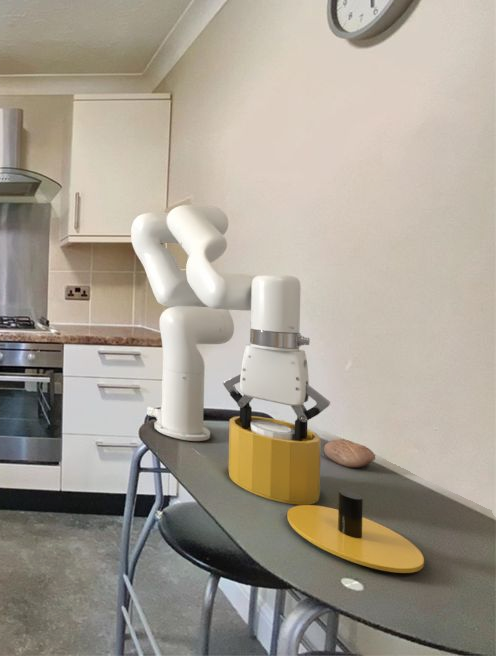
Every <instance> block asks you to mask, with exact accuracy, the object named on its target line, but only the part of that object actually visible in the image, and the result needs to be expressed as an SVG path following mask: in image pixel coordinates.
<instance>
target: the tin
mask: <svg viewBox="0 0 496 656" xmlns="http://www.w3.org/2000/svg"><path fill="white" fill-rule="evenodd" d="M254 420H262V421H269V422H274V423H278V424H282V425H284V426H287V427H289V428H291V429H293V430H294V431H295V423H293V422H288V421H285V420H280V419H276V418H271V417H270V418H269V417H263V416H255V415H251V421H254ZM228 428H229V429H228V430H229V432H228V468H227V469H228V476H229V478H230V479H231V481H232V482H233V483H235V484H236V485H237V486H239V487H240V488H242V489H244V490H245V491H248V492H249V493H252V494H254V495H256V496H259V497H262V498H264V499H267V500H271V501H274V502H279V503H283V504H288V505H289V504H290V505H296V506H300V505H314V504H316V503H318V502H319V500H320V496H321V456H322V455H321V452H322V451H321V450H322V449H321V448H322V447H321V446H322V438H321V437H320V436H319V435H318V433H317V432H314V431H313V430H311V429H308V428H307V438H306V439H303V441H290V440H283V439H277V438H271V437H268V436H264V435H260V434H256V433H253V432H251V427H249V428H248V429H243V428H242V423H241V422H240V415H238V416H237V415H236V416H232V417H231V418H230V419H229V426H228Z"/></svg>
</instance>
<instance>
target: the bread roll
mask: <svg viewBox="0 0 496 656" xmlns="http://www.w3.org/2000/svg"><path fill="white" fill-rule="evenodd" d="M323 448H324V449H323V451H324V454H325V456H326V457H327V458H329V459H330V460H331V461H333V462H335V463H337V464H338V465H340V466H343V467H346V468H352V469H353V468H362V467H364V466H365V467H366V466H367V465H369V464H371V463H373V462H374V461H375V460H376V454H375V453H374V451H372V450H371V449H370V448H369V447H367V446H366V445H363V444H360V443H356V442H353V441H352V440H348V439H342V438H341V439H332V440H329V441H328V442H326V444H325V445H324V447H323Z"/></svg>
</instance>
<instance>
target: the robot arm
mask: <svg viewBox="0 0 496 656" xmlns="http://www.w3.org/2000/svg"><path fill="white" fill-rule="evenodd" d="M228 229H229V218H228V216H227V214H226V213H225V211H224V210H223V209H221V208H219V207H217V206H212V205H210V206H209V205H196V204H182V205H178V206H176V207H174V208H172V209H171V210H170V211H169V212H161V211H160V212H159V211H158V212H157V211H153V212H152V211H151V212H150V211H149V212H144V213H141V214H140V215H137V217H135V219H134V220H133V222H132V224H131V229H130V240H131V241H130V242H131V246H132V248H133V250H134V252H135V254H136V256H137V258H138V260H139V261H140V263H141V264H142V266H143V269H144V271H145V274H146V277H147V279H148V282H149V285H150V288H151V291H152V293H153V296H154V298H155V300H156V301H157V303H158V304H159V305H161V306H164V307H168V308H166V309H164V310H163V311H162V313H161V314H160V315H159V319H158V320H159V321H158V326H159V333H160V339H161V346H162V347H161V348H162V366H161V367H162V369H161V371H162V372H161V374H162V375H161V407H160V408H156V407H154V406H150V405H149V406H147V408H146V414H147V416H149V417H153V418H155V419H156V420H155V421H154V422H153V424H154V425H153V426H154V430H156V431H157V432H159V433H160V434H162V435H164V436H168V437H169V438H172V439H177V440H181V441H190V442H203V441H208V440H209V439H210V438H211V431H210V430H209V429H208V428H207V427H205V426H204V411H205V410H204V406H205V403H204V401H205V367H206V366H205V361H204V358H203V356H202V353H201V352H200V350H199V348H198V346H197V345H223V344H226V343H228V342H229V341H230V340H231V339H232V338H233V336H234V333H235V325H234V320H233V316H232V315H231V312H230V311H247V312H248V311H250V331H249V333H250V334H249V343H247V344H246V345H245V347H244V351H243V356H242V362H241V368H240V374H238V375H236V376H233V377H232V378H229V379H226V380H225V381H224V382H223V383H222V384H223V386H224V388H225V390H226V391H227V392H228V393H229V396H230V397H231V398H232V399H233V401H234V402H235V403H236V405H237V406H238V407H239V416H240V422H241V423H242V428H243V429H248V428H249V427H251V423H250V422H251V416H253V415H252V414H253V411H252V409H253V408H252V406H251V405H250V403H251V402H252V400H253V399H257V400H262V401H266V402H271V403H274V404H275V403H276V404H281V405H286V406H290V407H291V409H292V410H293V412H294V413H295V415H296V419H295V420H294V424H295V438H294V441H303V439H306V438H307V429H308V422H309V420H311V419H313V418H315V417H316V416H318V415H320V414H321V413H322V412H323V411H325V410H326V409H328V408H329V406H330V405H331V401H330V400H329V399H328V398H327V397H325V396H323V394H321V393H320V392H318V391H317V390H316V389H314V388H313V387H312V386H311V385H310V380H309V378H310V377H309V368H308V366H309V365H308V360H307V354H306V351H305V350H304V349H300V348H301V347H302V346H310V342H311V341H310V337H305V336H302V334H301V332H300V327H301V326H300V325H301V290H302V289H301V281H300V280H299V278H298V277H297V276H293V275H286V274H285V275H284V274H259V275H258V274H244V273H230V272H229V273H227V272H224V273H223V272H219V271H218V270H217V269H216V268H215V267H214V266H213V264H212V263H214V262H215V261H217V260H219V259H220V258H221V257H222V256H223V255H224V253H225V252H226V251H227V250H226V249H227V247H228V242H227V239H226V237H225V236H224V235H225V234H226V232H228ZM162 243H164V244H179V246H180V247H181V248H182V249H183V250H184V252H185V253H186V254H187V255H188V258H187V262H186V265H185V271H184V270H182V269H181V267H180V266H179V264H178V261H177V258H176V257H175V256H174V254H173V253H172V252H171V251H170V249H168V248H167V247H166V246H164V245H163V244H162ZM237 384H239V390H238V389H237V388H236V385H237ZM240 392H241V393H240ZM242 394H243V395H242ZM309 398H311V399H312V400H314V401H315V403H316V404H315V405H314V406H313V407H311V408H309V409H307V408H306V406H305V403H307V402H308V401H309Z"/></svg>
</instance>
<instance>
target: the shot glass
mask: <svg viewBox="0 0 496 656" xmlns="http://www.w3.org/2000/svg"><path fill="white" fill-rule="evenodd" d="M250 423H251V432H253V433H256V434H260V435H264V436H268V437H271V438H277V439H283V440H290V441H294V438H295V431H294V430H293V429H291V428H289V427H287V426H284V425H282V424H278V423H274V422H269V421H262V420H254V421H251V422H250Z"/></svg>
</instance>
